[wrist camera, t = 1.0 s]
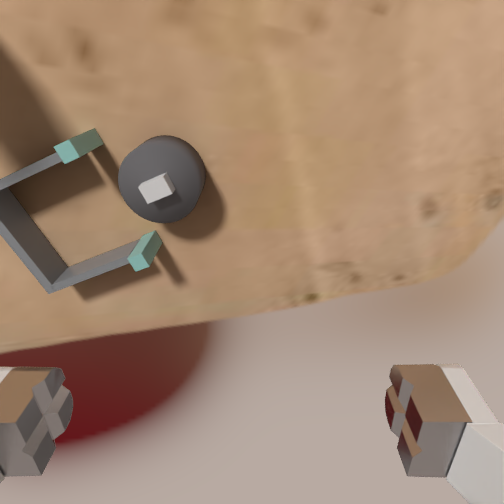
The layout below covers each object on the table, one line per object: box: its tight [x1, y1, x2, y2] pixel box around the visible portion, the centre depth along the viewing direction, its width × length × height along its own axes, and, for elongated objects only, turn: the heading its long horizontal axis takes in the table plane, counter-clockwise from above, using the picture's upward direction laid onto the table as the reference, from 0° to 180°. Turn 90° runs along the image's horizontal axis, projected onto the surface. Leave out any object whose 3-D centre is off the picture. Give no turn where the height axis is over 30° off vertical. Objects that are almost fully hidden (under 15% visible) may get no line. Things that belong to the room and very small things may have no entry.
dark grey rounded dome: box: [118, 135, 206, 223], centre depth 33 cm, size 7×7×5 cm
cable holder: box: [0, 128, 163, 294], centre depth 35 cm, size 12×12×5 cm
